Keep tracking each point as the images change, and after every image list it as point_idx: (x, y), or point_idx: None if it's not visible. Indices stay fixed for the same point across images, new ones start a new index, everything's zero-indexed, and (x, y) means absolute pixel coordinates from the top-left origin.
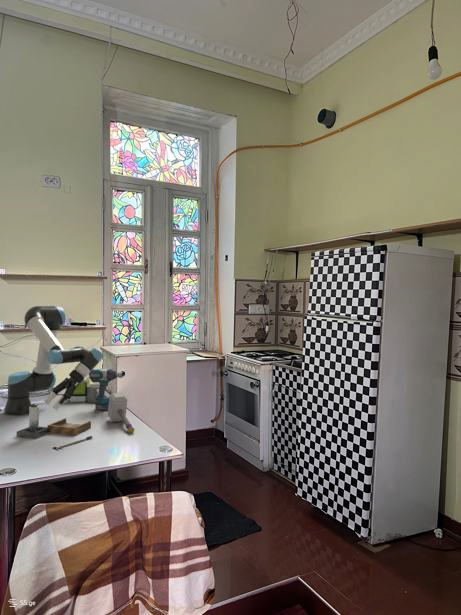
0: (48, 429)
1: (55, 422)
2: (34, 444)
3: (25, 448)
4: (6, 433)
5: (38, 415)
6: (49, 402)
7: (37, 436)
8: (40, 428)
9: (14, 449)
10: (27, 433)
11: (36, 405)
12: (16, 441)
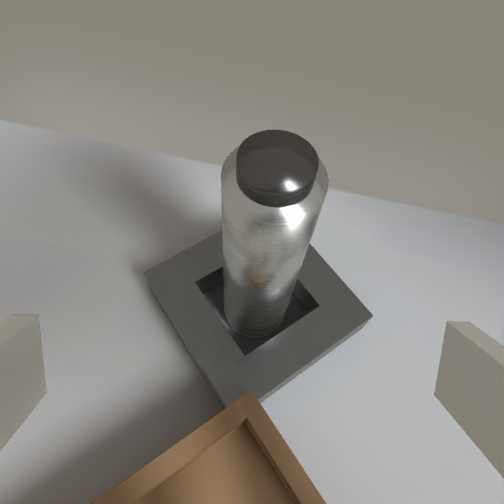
0: (218, 394)
1: (307, 493)
2: (46, 252)
3: (20, 200)
4: (363, 199)
5: (236, 263)
6: (459, 415)
7: (156, 298)
8: (265, 343)
9: (52, 162)
10: (202, 243)
11: (237, 174)
12: (177, 199)
